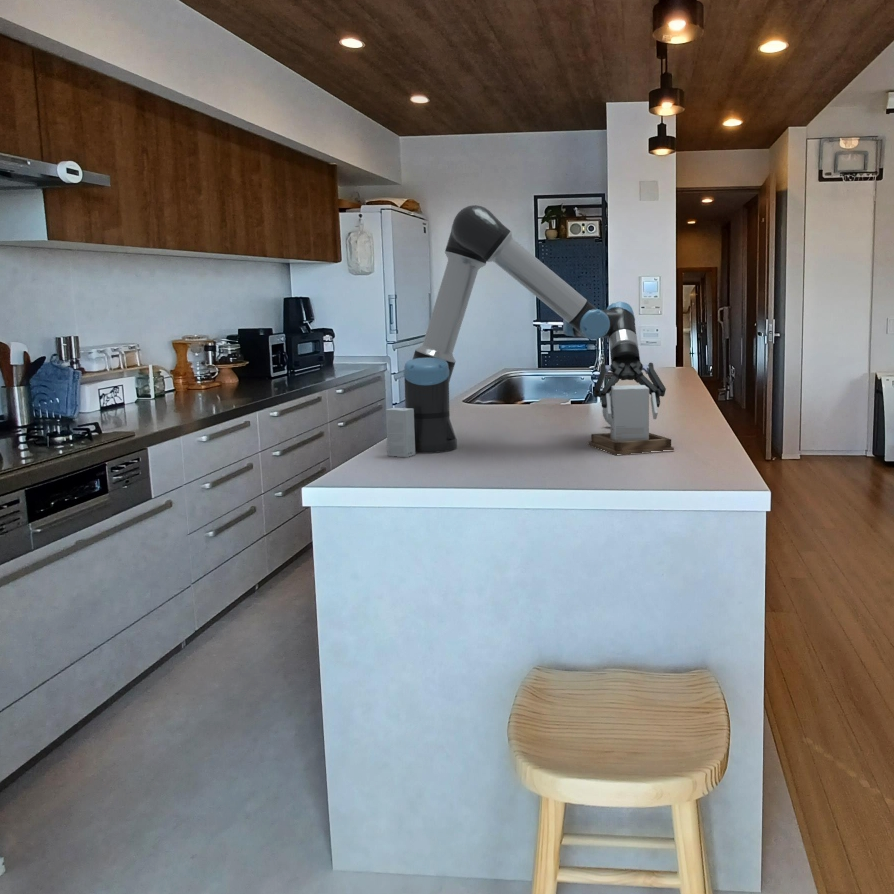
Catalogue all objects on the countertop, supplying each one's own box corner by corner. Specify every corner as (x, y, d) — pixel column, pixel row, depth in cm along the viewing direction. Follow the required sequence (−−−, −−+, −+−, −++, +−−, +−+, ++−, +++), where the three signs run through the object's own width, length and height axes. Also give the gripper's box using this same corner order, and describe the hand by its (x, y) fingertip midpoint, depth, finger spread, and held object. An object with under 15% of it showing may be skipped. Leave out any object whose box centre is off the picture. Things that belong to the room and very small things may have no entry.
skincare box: (415, 455, 219) (414, 408, 217) (406, 458, 215) (405, 410, 213) (396, 453, 222) (394, 407, 220) (386, 456, 218) (385, 409, 216)
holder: (615, 455, 213) (615, 443, 212) (588, 445, 228) (588, 434, 228) (673, 451, 217) (674, 439, 216) (643, 441, 232) (643, 430, 232)
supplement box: (644, 441, 226) (645, 384, 224) (649, 447, 218) (650, 387, 215) (609, 441, 227) (610, 384, 225) (612, 447, 218) (613, 388, 216)
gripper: (666, 359, 233) (676, 424, 221) (579, 360, 235) (584, 425, 222) (670, 340, 227) (681, 406, 214) (581, 342, 228) (587, 407, 216)
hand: (632, 416), depth 218 cm, fingers open, 11 cm apart
